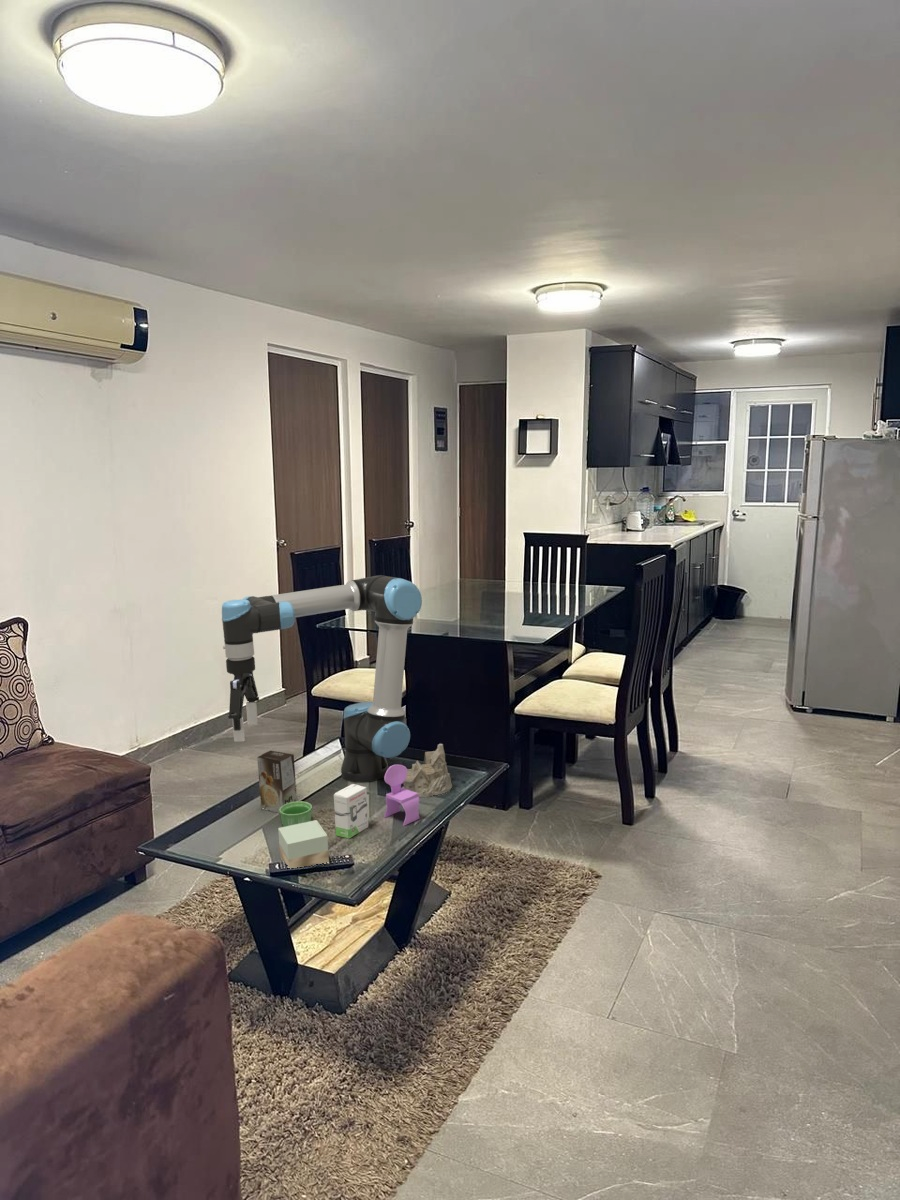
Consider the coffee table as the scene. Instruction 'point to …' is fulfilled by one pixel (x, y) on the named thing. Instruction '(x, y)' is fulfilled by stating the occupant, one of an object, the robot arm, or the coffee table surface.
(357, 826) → the ink box
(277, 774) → the coffee box
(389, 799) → the toy chair
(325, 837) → the top slab
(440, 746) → the ceramic cottage
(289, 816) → the ramekin
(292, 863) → the bottom slab
